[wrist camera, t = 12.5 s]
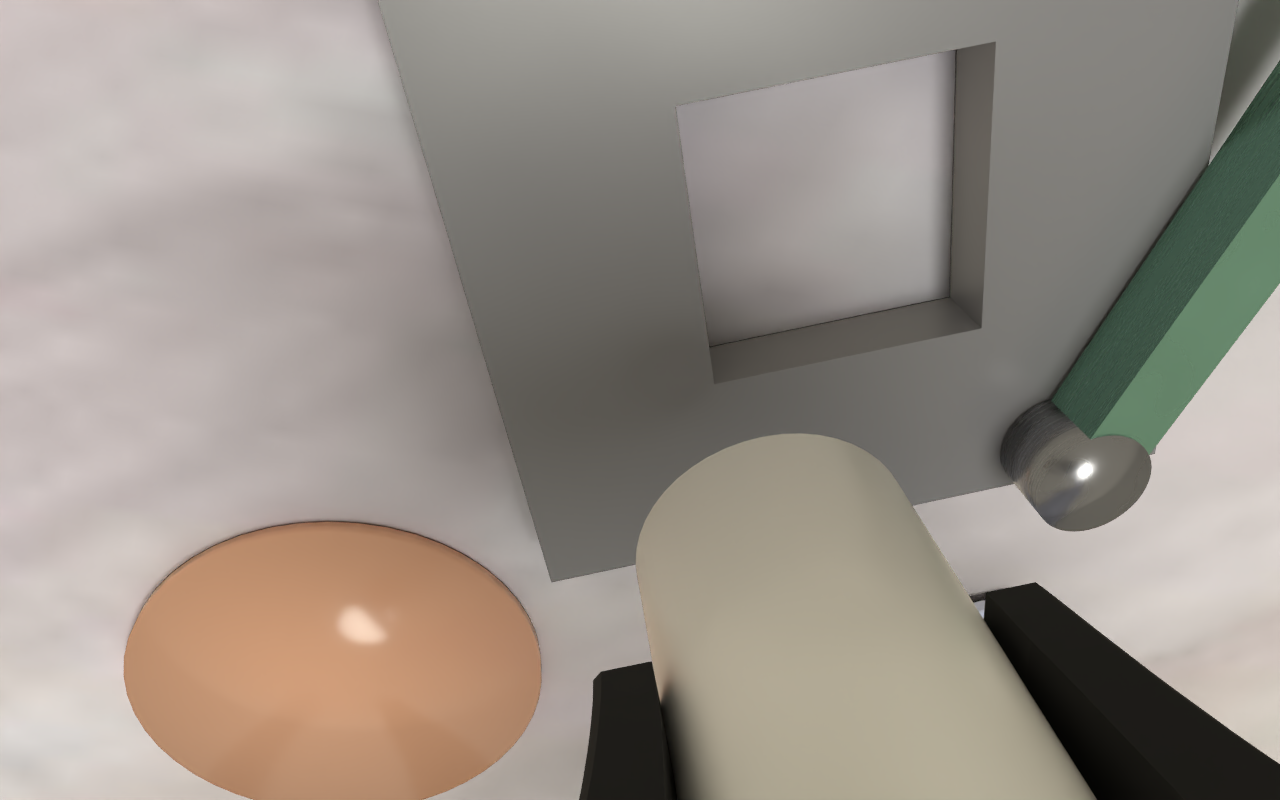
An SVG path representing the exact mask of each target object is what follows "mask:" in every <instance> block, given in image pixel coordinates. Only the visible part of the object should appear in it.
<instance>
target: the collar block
mask: <svg viewBox="0 0 1280 800" xmlns="http://www.w3.org/2000/svg"><path fill="white" fill-rule="evenodd" d="M1238 2H1239V0H378V4H379V7H380V10H381V14H382V17H383V20H384V24H385V27H386V30H387V34H388V37H389V40H390V44H391V47H392V50H393V54H394V57H395V60H396V64H397V67H398V70H399V74H400V77H401V81H402V84H403V87H404V91H405V94H406V97H407V101H408V104H409V107H410V111H411V114H412V117H413V121H414V124H415V127H416V131H417V134H418V137H419V141H420V144H421V147H422V151H423V154H424V157H425V161H426V164H427V167H428V171H429V174H430V177H431V181H432V184H433V188H434V191H435V194H436V198H437V201H438V204H439V208H440V211H441V214H442V218H443V221H444V224H445V228H446V231H447V234H448V238H449V241H450V244H451V248H452V251H453V254H454V258H455V261H456V264H457V268H458V271H459V274H460V278H461V281H462V284H463V288H464V291H465V295H466V298H467V301H468V305H469V308H470V311H471V315H472V318H473V321H474V325H475V328H476V331H477V335H478V338H479V341H480V345H481V348H482V351H483V355H484V358H485V361H486V365H487V368H488V371H489V375H490V378H491V381H492V385H493V388H494V391H495V395H496V398H497V402H498V405H499V408H500V412H501V415H502V418H503V422H504V425H505V428H506V432H507V435H508V438H509V442H510V445H511V448H512V452H513V455H514V458H515V462H516V465H517V468H518V472H519V475H520V478H521V482H522V485H523V488H524V492H525V495H526V498H527V502H528V505H529V509H530V512H531V515H532V519H533V522H534V525H535V529H536V532H537V535H538V539H539V542H540V545H541V549H542V552H543V555H544V559H545V562H546V565H547V569H548V572H549V575H550V579H551V582H556V581H560V580H565V579H570V578H574V577H579V576H584V575H588V574H593V573H598V572H603V571H607V570H612V569H617V568H621V567H626V566H631V565H635V564H636V549H637V544H638V540H639V535H640V532H641V530H642V527H643V525H644V522H645V520H646V518H647V516H648V515H649V513H650V511H651V509H652V508H653V506H654V504H655V503H656V502H657V501H658V499H659V498H660V497H661V495H662V494H663V493H664V491H665V490H666V489H667V488H668V487H669V486H670V485H671V484H672V483H673V482H674V481H675V480H676V479H677V478H679V477H680V476H681V475H682V474H684V473H685V472H686V471H687V470H689V469H690V468H691V467H693V466H694V465H696V464H697V463H699V462H700V461H702V460H704V459H705V458H707V457H709V456H711V455H713V454H715V453H717V452H719V451H721V450H723V449H725V448H727V447H730V446H733V445H736V444H738V443H741V442H744V441H748V440H752V439H756V438H760V437H764V436H771V435H778V434H797V433H803V434H814V435H822V436H827V437H832V438H836V439H839V440H842V441H845V442H848V443H851V444H853V445H855V446H857V447H859V448H861V449H863V450H865V451H867V452H868V453H870V454H871V455H872V456H874V457H875V458H876V459H878V460H879V461H880V462H881V463H882V464H883V465H884V466H885V467H886V468H887V469H888V470H889V471H890V472H891V474H892V475H893V477H894V478H895V480H896V481H897V483H898V484H899V486H900V487H901V489H902V490H903V492H904V494H905V495H906V497H907V498H908V500H909V502H910V503H911V505H912V506H913V505H917V504H922V503H927V502H931V501H936V500H941V499H945V498H950V497H955V496H959V495H964V494H969V493H974V492H978V491H983V490H988V489H992V488H997V487H1002V486H1006V485H1011V484H1014V483H1013V481H1012V480H1011V479H1010V478H1009V477H1008V475H1007V474H1006V473H1005V471H1004V469H1003V467H1002V464H1001V455H1000V454H1001V447H1002V444H1003V441H1004V439H1005V436H1006V434H1007V433H1008V431H1009V429H1010V428H1011V427H1012V425H1013V424H1014V423H1015V422H1016V421H1017V420H1018V419H1019V418H1020V417H1021V416H1022V415H1023V414H1024V413H1026V412H1027V411H1028V410H1030V409H1031V408H1033V407H1034V406H1036V405H1038V404H1040V403H1042V402H1044V401H1047V400H1049V399H1052V398H1053V397H1054V395H1055V394H1056V392H1057V391H1058V389H1059V388H1060V386H1061V385H1062V383H1063V382H1064V380H1065V379H1066V377H1067V376H1068V374H1069V373H1070V371H1071V370H1072V368H1073V367H1074V365H1075V364H1076V362H1077V361H1078V359H1079V358H1080V356H1081V355H1082V353H1083V352H1084V350H1085V349H1086V348H1087V346H1088V345H1089V343H1090V342H1091V340H1092V339H1093V337H1094V336H1095V334H1096V333H1097V331H1098V330H1099V328H1100V327H1101V325H1102V324H1103V322H1104V321H1105V319H1106V318H1107V316H1108V315H1109V313H1110V312H1111V310H1112V309H1113V307H1114V306H1115V304H1116V303H1117V301H1118V300H1119V298H1120V297H1121V296H1122V294H1123V293H1124V291H1125V290H1126V288H1127V287H1128V285H1129V284H1130V282H1131V281H1132V279H1133V278H1134V276H1135V275H1136V273H1137V272H1138V270H1139V269H1140V267H1141V266H1142V264H1143V263H1144V261H1145V260H1146V258H1147V257H1148V255H1149V254H1150V252H1151V251H1152V249H1153V248H1154V247H1155V245H1156V244H1157V242H1158V241H1159V239H1160V238H1161V236H1162V235H1163V233H1164V232H1165V230H1166V229H1167V227H1168V226H1169V224H1170V223H1171V221H1172V220H1173V218H1174V217H1175V215H1176V214H1177V212H1178V211H1179V209H1180V208H1181V206H1182V205H1183V203H1184V202H1185V200H1186V199H1187V197H1188V196H1189V195H1190V193H1191V192H1192V190H1193V189H1194V187H1195V186H1196V184H1197V183H1198V181H1199V180H1200V178H1201V177H1202V175H1203V174H1204V172H1205V171H1206V169H1207V168H1208V164H1209V158H1210V153H1211V148H1212V142H1213V137H1214V131H1215V126H1216V121H1217V115H1218V110H1219V104H1220V99H1221V94H1222V88H1223V83H1224V77H1225V72H1226V67H1227V61H1228V56H1229V50H1230V45H1231V40H1232V34H1233V29H1234V23H1235V18H1236V13H1237V7H1238ZM956 49H957V60H956V96H955V133H954V169H953V205H952V242H951V278H950V297H949V298H944V299H939V300H935V301H930V302H925V303H920V304H915V305H911V306H906V307H901V308H896V309H891V310H886V311H882V312H877V313H872V314H867V315H862V316H858V317H853V318H848V319H843V320H838V321H834V322H829V323H824V324H819V325H814V326H810V327H805V328H800V329H795V330H790V331H786V332H781V333H776V334H771V335H766V336H762V337H757V338H752V339H747V340H742V341H737V342H733V343H728V344H723V345H718V346H713V347H709V342H708V335H707V328H706V321H705V314H704V306H703V299H702V292H701V285H700V278H699V271H698V264H697V256H696V249H695V242H694V235H693V228H692V221H691V213H690V206H689V199H688V192H687V185H686V178H685V171H684V163H683V156H682V149H681V142H680V135H679V128H678V120H677V113H676V106H679V105H684V104H688V103H693V102H698V101H703V100H708V99H713V98H718V97H723V96H728V95H733V94H738V93H743V92H748V91H753V90H758V89H763V88H768V87H773V86H778V85H783V84H787V83H792V82H797V81H802V80H807V79H812V78H817V77H822V76H827V75H832V74H837V73H842V72H847V71H852V70H857V69H862V68H867V67H872V66H877V65H882V64H887V63H891V62H896V61H901V60H906V59H911V58H916V57H921V56H926V55H931V54H936V53H941V52H946V51H951V50H956ZM1155 450H1156V447H1155V448H1154V449H1153V451H1152V452H1151V453H1150V454H1149V455H1152V454H1155Z"/></svg>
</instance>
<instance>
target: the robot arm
mask: <svg viewBox="0 0 1280 800" xmlns="http://www.w3.org/2000/svg"><path fill="white" fill-rule="evenodd" d="M974 605H975V606H976V608H977V610H978V611H979V613H980V614H981V616H982V618H983V619H984V621H985V622H986V624H987V626H988V627H989V629H990V630H991V632H992V634H993V635H994V637H995V638H996V640H997V641H998V643H999V645H1000V646H1001V648H1002V649H1003V651H1004V653H1005V654H1006V656H1007V657H1008V659H1009V661H1010V662H1011V664H1012V665H1013V667H1014V668H1015V670H1016V672H1017V673H1018V675H1019V676H1020V678H1021V680H1022V681H1023V683H1024V684H1025V686H1026V688H1027V689H1028V691H1029V692H1030V694H1031V696H1032V697H1033V699H1034V700H1035V702H1036V703H1037V705H1038V707H1039V708H1040V710H1041V711H1042V713H1043V715H1044V716H1045V718H1046V719H1047V721H1048V723H1049V724H1050V726H1051V727H1052V729H1053V730H1054V732H1055V734H1056V735H1057V737H1058V738H1059V740H1060V742H1061V743H1062V745H1063V746H1064V748H1065V750H1066V751H1067V753H1068V754H1069V756H1070V758H1071V759H1072V761H1073V762H1074V764H1075V765H1076V767H1077V769H1078V770H1079V772H1080V773H1081V775H1082V777H1083V778H1084V780H1085V781H1086V783H1087V785H1088V786H1089V788H1090V789H1091V791H1092V792H1093V794H1094V796H1095V797H1096V799H1097V800H1280V764H1279V763H1277V762H1276V761H1274V760H1273V759H1271V758H1270V757H1268V756H1267V755H1265V754H1264V753H1262V752H1261V751H1260V750H1258V749H1257V748H1255V747H1254V746H1252V745H1251V744H1250V743H1248V742H1247V741H1245V740H1244V739H1242V738H1241V737H1240V736H1238V735H1237V734H1235V733H1234V732H1232V731H1231V730H1230V729H1228V728H1227V727H1226V726H1224V725H1223V724H1221V723H1220V722H1219V721H1217V720H1216V719H1215V718H1213V717H1212V716H1210V715H1209V714H1208V713H1206V712H1205V711H1204V710H1202V709H1201V708H1199V707H1198V706H1197V705H1195V704H1194V703H1193V702H1191V701H1190V700H1188V699H1187V698H1186V697H1184V696H1183V695H1182V694H1180V693H1179V692H1177V691H1176V690H1175V689H1173V688H1172V687H1171V686H1169V685H1168V684H1167V683H1165V682H1164V681H1163V680H1161V679H1160V678H1159V677H1157V676H1156V675H1155V674H1153V673H1152V672H1151V671H1149V670H1148V669H1147V668H1145V667H1144V666H1143V665H1142V664H1140V663H1139V662H1138V661H1136V660H1135V659H1134V658H1132V657H1131V656H1130V655H1129V654H1127V653H1126V652H1125V651H1123V650H1122V649H1121V648H1119V647H1118V646H1117V645H1116V644H1114V643H1113V642H1112V641H1110V640H1109V639H1108V638H1107V637H1105V636H1104V635H1103V634H1101V633H1100V632H1099V631H1098V630H1096V629H1095V628H1094V627H1093V626H1091V625H1090V624H1089V623H1087V622H1086V621H1085V620H1084V619H1082V618H1081V617H1080V616H1079V615H1077V614H1076V613H1075V612H1073V611H1072V610H1071V609H1070V608H1068V607H1067V606H1066V605H1065V604H1063V603H1062V602H1061V601H1059V600H1058V599H1057V598H1056V597H1054V596H1053V595H1052V594H1050V593H1049V592H1048V591H1047V590H1045V589H1044V588H1043V587H1041V586H1040V585H1038V584H1037V583H1036V582H1035V583H1030V584H1025V585H1021V586H1016V587H1011V588H1006V589H1001V590H996V591H991V592H986V595H985V600H983V601H978V602H974ZM579 800H677V795H676V788H675V781H674V775H673V770H672V764H671V759H670V753H669V748H668V742H667V736H666V731H665V725H664V720H663V714H662V708H661V703H660V699H659V694H658V689H657V684H656V680H655V675H654V670H653V665H652V661H651V662H646V663H641V664H636V665H632V666H627V667H622V668H617V669H612V670H607V671H602V672H600V674H599V675H598V676H597V677H596V678H595V679H594V680H593V707H592V719H591V729H590V737H589V745H588V752H587V758H586V764H585V771H584V777H583V783H582V789H581V794H580V798H579Z"/></svg>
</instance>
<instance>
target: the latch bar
mask: <svg viewBox="0 0 1280 800" xmlns="http://www.w3.org/2000/svg"><path fill="white" fill-rule="evenodd" d="M1279 283H1280V61H1279V62H1278V64H1277V65H1276V67H1275V68H1274V70H1273V71H1272V73H1271V74H1270V76H1269V77H1268V79H1267V80H1266V82H1265V83H1264V85H1263V86H1262V88H1261V89H1260V91H1259V92H1258V93H1257V95H1256V96H1255V98H1254V99H1253V101H1252V102H1251V104H1250V105H1249V107H1248V108H1247V110H1246V111H1245V113H1244V114H1243V116H1242V117H1241V119H1240V120H1239V122H1238V123H1237V125H1236V126H1235V128H1234V129H1233V131H1232V132H1231V134H1230V135H1229V137H1228V138H1227V140H1226V141H1225V143H1224V144H1223V145H1222V147H1221V148H1220V150H1219V151H1218V153H1217V154H1216V156H1215V157H1214V159H1213V160H1212V162H1211V163H1210V165H1209V166H1208V168H1207V169H1206V171H1205V172H1204V174H1203V175H1202V177H1201V178H1200V180H1199V181H1198V183H1197V184H1196V186H1195V187H1194V189H1193V190H1192V192H1191V193H1190V195H1189V196H1188V197H1187V199H1186V200H1185V202H1184V203H1183V205H1182V206H1181V208H1180V209H1179V211H1178V212H1177V214H1176V215H1175V217H1174V218H1173V220H1172V221H1171V223H1170V224H1169V226H1168V227H1167V229H1166V230H1165V232H1164V233H1163V235H1162V236H1161V238H1160V239H1159V241H1158V242H1157V244H1156V245H1155V247H1154V248H1153V249H1152V251H1151V252H1150V254H1149V255H1148V257H1147V258H1146V260H1145V261H1144V263H1143V264H1142V266H1141V267H1140V269H1139V270H1138V272H1137V273H1136V275H1135V276H1134V278H1133V279H1132V281H1131V282H1130V284H1129V285H1128V287H1127V288H1126V290H1125V291H1124V293H1123V294H1122V296H1121V297H1120V298H1119V300H1118V301H1117V303H1116V304H1115V306H1114V307H1113V309H1112V310H1111V312H1110V313H1109V315H1108V316H1107V318H1106V319H1105V321H1104V322H1103V324H1102V325H1101V327H1100V328H1099V330H1098V331H1097V333H1096V334H1095V336H1094V337H1093V339H1092V340H1091V342H1090V343H1089V345H1088V346H1087V348H1086V349H1085V350H1084V352H1083V353H1082V355H1081V356H1080V358H1079V359H1078V361H1077V362H1076V364H1075V365H1074V367H1073V368H1072V370H1071V371H1070V373H1069V374H1068V376H1067V377H1066V379H1065V380H1064V382H1063V383H1062V385H1061V386H1060V388H1059V389H1058V391H1057V392H1056V394H1055V395H1054V397H1053V398H1052V399H1049V400H1047V401H1044V402H1042V403H1040V404H1038V405H1036V406H1034V407H1033V408H1031V409H1030V410H1028V411H1027V412H1026V413H1024V414H1023V415H1022V416H1021V417H1020V418H1019V419H1018V420H1017V421H1016V422H1015V423H1014V424H1013V425H1012V427H1011V428H1010V429H1009V431H1008V433H1007V434H1006V436H1005V439H1004V441H1003V444H1002V447H1001V454H1000V455H1001V464H1002V467H1003V469H1004V471H1005V473H1006V474H1007V475H1008V477H1009V478H1010V479H1011V480H1012V481H1013V483H1014V484H1015V485H1016V486H1017V488H1018V489H1019V490H1020V491H1021V492H1022V494H1023V495H1024V496H1025V497H1026V499H1027V500H1028V501H1029V502H1030V503H1031V505H1032V506H1033V507H1034V508H1035V510H1036V511H1037V512H1038V513H1039V514H1040V516H1041V517H1042V518H1043V519H1044V520H1045V521H1046V522H1047V523H1048V524H1049V525H1051V526H1052V527H1054V528H1057V529H1060V530H1064V531H1084V530H1089V529H1093V528H1096V527H1099V526H1102V525H1104V524H1106V523H1108V522H1110V521H1112V520H1114V519H1116V518H1117V517H1119V516H1120V515H1122V514H1123V513H1124V512H1125V511H1127V510H1128V509H1129V508H1130V507H1131V506H1132V505H1133V504H1134V503H1135V502H1136V501H1137V500H1138V499H1139V497H1140V496H1141V494H1142V493H1143V492H1144V490H1145V488H1146V486H1147V484H1148V481H1149V479H1150V475H1151V460H1150V456H1149V454H1150V453H1151V452H1152V451H1153V449H1154V448H1155V447H1156V445H1157V444H1158V443H1159V441H1160V440H1161V439H1162V437H1163V436H1164V435H1165V433H1166V432H1167V431H1168V429H1169V428H1170V427H1171V426H1172V424H1173V423H1174V422H1175V420H1176V419H1177V418H1178V416H1179V415H1180V414H1181V412H1182V411H1183V410H1184V408H1185V407H1186V406H1187V404H1188V403H1189V402H1190V401H1191V399H1192V398H1193V397H1194V395H1195V394H1196V393H1197V391H1198V390H1199V389H1200V387H1201V386H1202V385H1203V383H1204V382H1205V381H1206V379H1207V378H1208V377H1209V376H1210V374H1211V373H1212V372H1213V370H1214V369H1215V368H1216V366H1217V365H1218V364H1219V362H1220V361H1221V360H1222V358H1223V357H1224V356H1225V354H1226V353H1227V352H1228V351H1229V349H1230V348H1231V347H1232V345H1233V344H1234V343H1235V341H1236V340H1237V339H1238V337H1239V336H1240V335H1241V333H1242V332H1243V331H1244V329H1245V328H1246V327H1247V326H1248V324H1249V323H1250V322H1251V320H1252V319H1253V318H1254V316H1255V315H1256V314H1257V312H1258V311H1259V310H1260V308H1261V307H1262V306H1263V304H1264V303H1265V302H1266V301H1267V299H1268V298H1269V297H1270V295H1271V294H1272V293H1273V291H1274V290H1275V289H1276V287H1277V286H1278V285H1279Z"/></svg>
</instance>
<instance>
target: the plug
mask: <svg viewBox="0 0 1280 800" xmlns="http://www.w3.org/2000/svg"><path fill="white" fill-rule="evenodd" d="M636 570H637V578H638V584H639V589H640V595H641V600H642V606H643V612H644V617H645V623H646V629H647V634H648V640H649V645H650V651H651V657H652V662H653V668H654V673H655V679H656V684H657V689H658V694H659V699H660V703H661V708H662V714H663V720H664V725H665V731H666V736H667V742H668V748H669V753H670V759H671V764H672V770H673V775H674V781H675V788H676V795H677V800H1097V799H1096V797H1095V796H1094V794H1093V792H1092V791H1091V789H1090V788H1089V786H1088V785H1087V783H1086V781H1085V780H1084V778H1083V777H1082V775H1081V773H1080V772H1079V770H1078V769H1077V767H1076V765H1075V764H1074V762H1073V761H1072V759H1071V758H1070V756H1069V754H1068V753H1067V751H1066V750H1065V748H1064V746H1063V745H1062V743H1061V742H1060V740H1059V738H1058V737H1057V735H1056V734H1055V732H1054V730H1053V729H1052V727H1051V726H1050V724H1049V723H1048V721H1047V719H1046V718H1045V716H1044V715H1043V713H1042V711H1041V710H1040V708H1039V707H1038V705H1037V703H1036V702H1035V700H1034V699H1033V697H1032V696H1031V694H1030V692H1029V691H1028V689H1027V688H1026V686H1025V684H1024V683H1023V681H1022V680H1021V678H1020V676H1019V675H1018V673H1017V672H1016V670H1015V668H1014V667H1013V665H1012V664H1011V662H1010V661H1009V659H1008V657H1007V656H1006V654H1005V653H1004V651H1003V649H1002V648H1001V646H1000V645H999V643H998V641H997V640H996V638H995V637H994V635H993V634H992V632H991V630H990V629H989V627H988V626H987V624H986V622H985V621H984V619H983V618H982V616H981V614H980V613H979V611H978V610H977V608H976V606H975V605H974V603H973V602H972V600H971V599H970V597H969V595H968V594H967V592H966V591H965V589H964V587H963V586H962V584H961V583H960V581H959V579H958V578H957V576H956V575H955V573H954V572H953V570H952V568H951V567H950V565H949V564H948V562H947V560H946V559H945V557H944V556H943V554H942V552H941V551H940V549H939V548H938V546H937V544H936V543H935V541H934V540H933V538H932V537H931V535H930V533H929V532H928V530H927V529H926V527H925V525H924V524H923V522H922V521H921V519H920V517H919V516H918V514H917V513H916V511H915V510H914V508H913V506H912V505H911V503H910V502H909V500H908V498H907V497H906V495H905V494H904V492H903V490H902V489H901V487H900V486H899V484H898V483H897V481H896V480H895V478H894V477H893V475H892V474H891V472H890V471H889V470H888V469H887V468H886V467H885V466H884V465H883V464H882V463H881V462H880V461H879V460H878V459H876V458H875V457H874V456H872V455H871V454H870V453H868V452H867V451H865V450H863V449H861V448H859V447H857V446H855V445H853V444H851V443H848V442H845V441H842V440H839V439H836V438H832V437H827V436H822V435H814V434H803V433H797V434H778V435H771V436H764V437H760V438H756V439H752V440H748V441H744V442H741V443H738V444H736V445H733V446H730V447H727V448H725V449H723V450H721V451H719V452H717V453H715V454H713V455H711V456H709V457H707V458H705V459H704V460H702V461H700V462H699V463H697V464H696V465H694V466H693V467H691V468H690V469H689V470H687V471H686V472H685V473H684V474H682V475H681V476H680V477H679V478H677V479H676V480H675V481H674V482H673V483H672V484H671V485H670V486H669V487H668V488H667V489H666V490H665V491H664V493H663V494H662V495H661V497H660V498H659V499H658V501H657V502H656V503H655V504H654V506H653V508H652V509H651V511H650V513H649V515H648V516H647V518H646V520H645V522H644V525H643V527H642V530H641V532H640V535H639V540H638V544H637V549H636Z"/></svg>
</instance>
